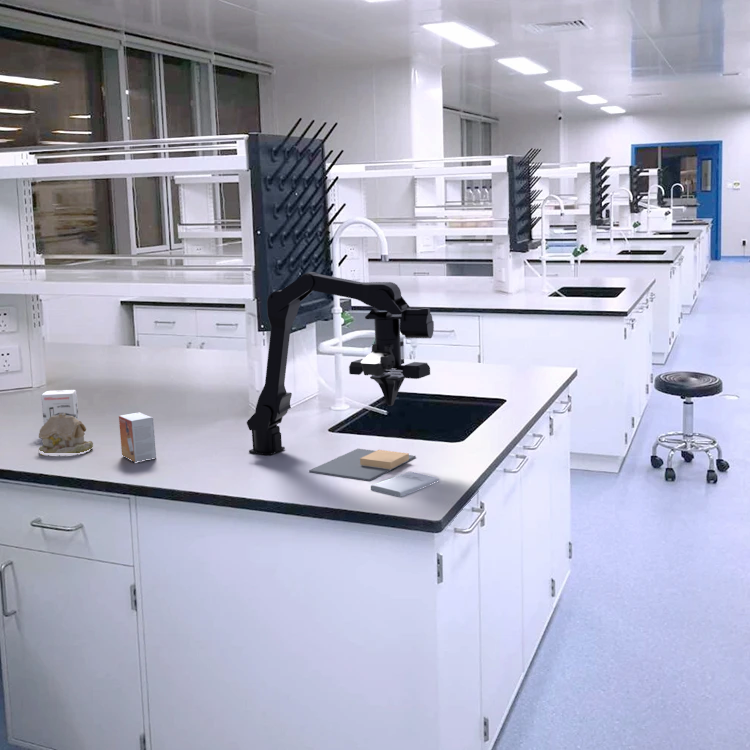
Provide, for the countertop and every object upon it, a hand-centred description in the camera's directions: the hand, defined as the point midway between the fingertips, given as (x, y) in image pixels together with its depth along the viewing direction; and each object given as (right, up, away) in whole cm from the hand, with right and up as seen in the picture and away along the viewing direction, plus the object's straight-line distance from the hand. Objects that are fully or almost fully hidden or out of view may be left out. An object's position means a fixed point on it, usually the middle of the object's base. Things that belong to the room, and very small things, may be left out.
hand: (390, 405), depth 206 cm
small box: (-61, -13, +11) cm, 63 cm away
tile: (-5, -12, -2) cm, 13 cm away
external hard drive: (+3, -17, -19) cm, 25 cm away
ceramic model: (-82, -13, +20) cm, 85 cm away
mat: (-6, -13, -2) cm, 15 cm away
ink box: (-89, -9, +39) cm, 97 cm away
